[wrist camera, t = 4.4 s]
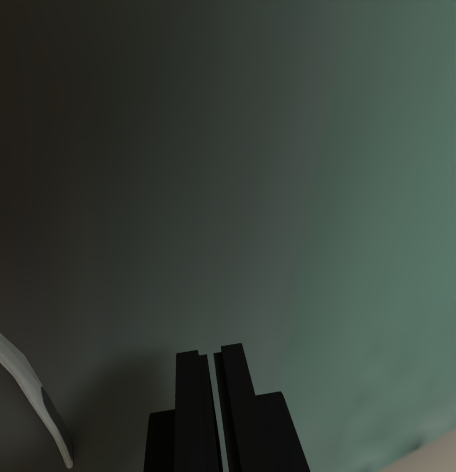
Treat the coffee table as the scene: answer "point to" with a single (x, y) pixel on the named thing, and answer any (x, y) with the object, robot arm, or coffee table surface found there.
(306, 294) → the coffee table surface
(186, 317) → the coffee table surface
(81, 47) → the coffee table surface
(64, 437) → the sunglasses
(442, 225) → the coffee table surface
